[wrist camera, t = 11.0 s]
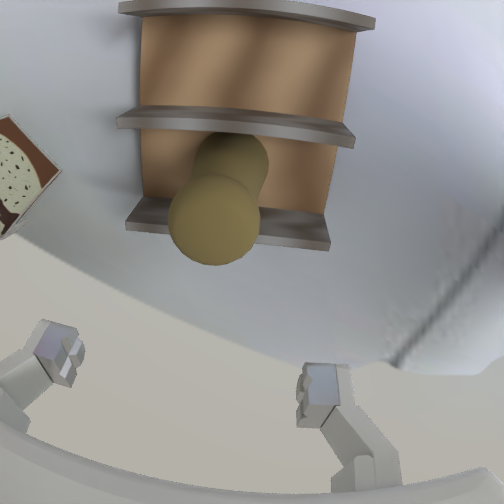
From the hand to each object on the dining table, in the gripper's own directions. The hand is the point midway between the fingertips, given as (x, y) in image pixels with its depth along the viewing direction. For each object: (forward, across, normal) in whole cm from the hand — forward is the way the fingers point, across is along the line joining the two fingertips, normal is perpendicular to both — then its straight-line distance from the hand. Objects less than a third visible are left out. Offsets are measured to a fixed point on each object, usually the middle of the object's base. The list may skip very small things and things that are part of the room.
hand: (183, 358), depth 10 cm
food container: (+20, +23, +1) cm, 31 cm away
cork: (+19, 0, 0) cm, 19 cm away
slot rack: (+20, 0, -4) cm, 20 cm away
